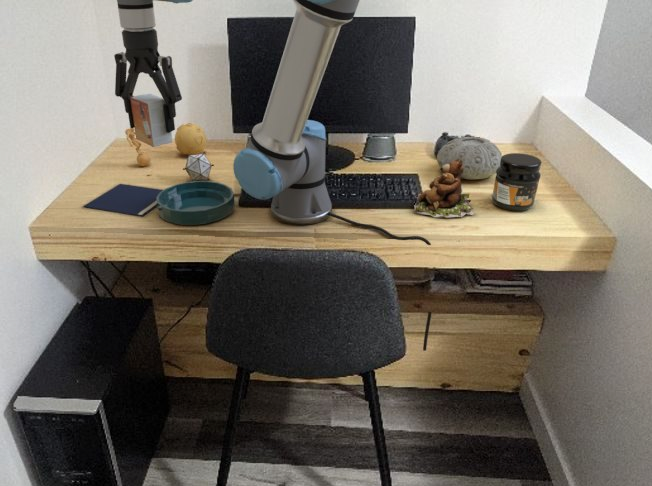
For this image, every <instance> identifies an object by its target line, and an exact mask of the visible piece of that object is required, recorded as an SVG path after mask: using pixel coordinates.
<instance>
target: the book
mask: <svg viewBox="0 0 652 486" xmlns="http://www.w3.org/2000/svg"><path fill="white" fill-rule="evenodd" d="M163 190H164V189H159V188H153V187H145V186H138V185H131V184H126V183H125V184H124V183H119V184H118V185H116V186H114V187H112V188H111V189H109V190H107V191H105V192H104V193H103V194H101V195H99V196H98V197H96V198H95V199H93V200H90V201H89V202H88V203H86V204H84V205H83V207H82V208H87V209H93V210H97V211H105V212H113V213H117V214H118V213H119V214H124V215H130V216H136V217H137V216H138V217H142V218H143V217H144V216H146V215H147V214H148V213H150V212H151V211H153V210H154V209H155V208H156V207H157V208H158V206H157V199H156V197H157V196H158V194H159V193H160V192H161V191H163Z"/></svg>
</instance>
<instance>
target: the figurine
mask: <svg viewBox="0 0 652 486" xmlns="http://www.w3.org/2000/svg"><path fill="white" fill-rule="evenodd" d="M124 132H125V135H126V140H127V142H128V144H129V146H130V147H131V148H133V146H135V151H136V153H137V156H136V163H137V164H138V165H139V166H141V167H146V166H148V165H149V164H150V162H151V158H150V155H148V154H147V153H145V152H144V151H142V150H141V149H140V148H141V146H142V143H141V141H139V140H137V139H136V135H135V128H130V127H129V128H126V129H125V131H124Z"/></svg>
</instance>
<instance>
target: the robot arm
mask: <svg viewBox="0 0 652 486" xmlns="http://www.w3.org/2000/svg"><path fill="white" fill-rule="evenodd" d="M155 1H157V2H165V3H166V2H167V3H173V4H177V5H178V4H184V3H185V4H187V3H188V4H189V3H191V2H193V1H194V0H155ZM292 1H293V3H294V6H295V9H296V10H295V13H294V16H293V20H292V23H291V26H290V30H289V32H288V36H287V40H286V43H285V46H284V49H283V54H282V56H281V59H280V63H279V66H278V69H277V73H276V76H275V79H274V83H273V86H272V89H271V91H270V96H269V99H268V102H267V106H266V108H265V112H264V114H263V115H264V116H263V119H262V122H259V123H257V124H255V125H254V126H253V128H252V130H251V133H250V136H249V140H248V144H247V146H246V148H243V149H241V150H240V151H239V152H238V153H237V154H236V155H235V157H234V158H233V159H234V160H233V166H232V168H233V175H234V177H235V179H236V180H237V183H238V185H239V186H240V188H241V189H242V190H243V191H244V192H245V193H246V194H248V195H249V196H251V197H252V198H254V199H256V200H270V199H272V201H271V204H270V212H271V213H270V214H271V216H272V217H273V218H274V219H275V220H277V221H278V222H281V223H284V224H287V225H295V226H308V225H313V224H314V225H315V224H318V223H322V222H323V221H326V220H328V218H330V217H332V218H335V219H337V220H340V221H343V222H346V223H348V224H350V225H353V226H356V227H360V228H367V229H372V230H375V231H376V230H377V231H379V232H381V233H383V234H385V236H387V237H389V238H390V239H393V240H397V241H410V240H419V241H422V242H424V243H425V245H427V246H432V244H431V242H430V241H429V240H428V239H427V238H425V237H423V236H418V235H411V236H410V235H409V236H398V235H395V234H392V233H391V232H389V231H388V230H386V229H385V228H382V227H380V226H376V225H373V224H367V223H362V222H357V221H354V220H351V219H348V218H346V217H343V216H341V215H338V214H336V213H333V212H332V211H333V204H332V201H331V198H330V194H329V191H328V189H327V186H326V144H327V143H326V142H327V137H326V127H325V125H324V124H323V123H321V122H319V121H316V120H312V119H309V116H310V113H311V110H312V107H313V105H314V103H315V100H316V96H317V94H318V91H319V89H320V86H321V83H322V80H323V77H324V75H325V71H326V70H327V67H328V63H329V61H330V58H331V55H332V52H333V49H334V47H335V44H336V41H337V39H338V36H339V33H340V30H341V27H342V26H343V25H346V24H348V23H350V22H352V21H353V19H354V17H355V14H356V11H357V8H358V6H359V3H360V1H361V0H292ZM116 4H117V10H118V11H117V12H118V17H119V24H120V27H121V28H122V31H121V36H122V43H123V47H124V49H125V52H123V51H121V52H117V53H115V54H114V61H115V81H114V82H115V83H114V84H115V85H114V86H115V87H114V95H115V96H116V97H118V98H121V99H122V100H123V105H124V111H125V113H126V114H127V115H128V121H129V129H130V128H134V121H133V115H132V108H131V101H130V97H133V96H134V95H133V94H134V92H135V89H136V85H137V82H138V78H139V75H140V74H141V73H142V74H146V75H148V76H149V78H150V79H152V81H153V82H154V85H155V86H156V88H157V90H158V91H159V93H160V95H161V98H163V99H164V101H165V102H166V104H164V105H163V109H164V117H165V125H166V132H167V133H170V132H171V133H172V132H173V131H175V130H176V126H175V125H176V124H175V118H176V116H177V112H176V103H178V102H180V101H182V99H183V97H182V94H181V91H180V87H179V84H178V81H177V77H176V75H175V72H174V71H175V70H174V69H173V58H172V56H171V55H167V56H164V55H161V54H160V52H159V48H158V47H159V39H158V32H157V30H156V29H155V27H156V16H155V8H154V0H116ZM127 63H129V67H127V66H128V64H127ZM160 67H161V68H160ZM127 68H128V70H127ZM134 129H135V128H134ZM432 314H433V313H432V311H428V313H427V318H426V324H425V331H424V337H423V346H422V351H424V352H427V345H428V338H429V332H430V326H431V325H430V324H431V320H432Z"/></svg>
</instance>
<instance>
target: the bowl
mask: <svg viewBox="0 0 652 486" xmlns="http://www.w3.org/2000/svg"><path fill="white" fill-rule="evenodd" d="M191 181H192V180H191ZM191 181H185V182H180V183H176V184H173V185H171V186H168V187H166V188H164V189H162V190H163V191H161V192H160V193H159V194H158V196H157V197H156V199H157V212H158V216H159V217H160V218H161V219H162V220H164V221H165V222H169V223H171V224H175V225H183V226H198V225H205V224H206V225H207V224H210V223H213V222H214V223H215V222H218V221H220V220H222V219H224V218H226V217H229V216H230V214H232V213H233V212H234V210H235V207H236V204H235V203H236V202H235V193H234V190H233V188H232V187H230V186H229V185H227V184H225V183H221V182H218V181H211V180H210V181H208V180H195V181H192V182H191Z"/></svg>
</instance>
